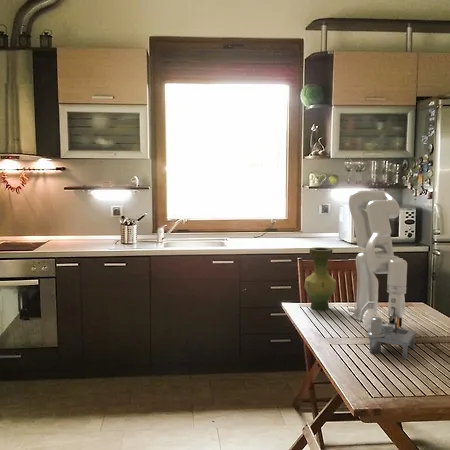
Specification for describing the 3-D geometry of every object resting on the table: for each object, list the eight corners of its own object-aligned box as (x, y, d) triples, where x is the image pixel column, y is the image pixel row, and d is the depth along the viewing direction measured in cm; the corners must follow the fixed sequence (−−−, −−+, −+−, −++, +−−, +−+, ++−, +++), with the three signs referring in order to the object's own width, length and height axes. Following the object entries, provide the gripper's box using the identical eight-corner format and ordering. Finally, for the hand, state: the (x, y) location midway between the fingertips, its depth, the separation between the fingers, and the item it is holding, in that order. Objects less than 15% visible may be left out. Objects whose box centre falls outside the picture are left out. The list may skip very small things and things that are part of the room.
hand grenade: (360, 333, 212) (361, 303, 210) (357, 328, 218) (358, 299, 216) (379, 334, 211) (380, 304, 209) (375, 329, 217) (377, 300, 216)
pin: (388, 336, 208) (389, 313, 207) (390, 333, 212) (391, 310, 210) (398, 338, 206) (399, 314, 205) (400, 335, 209) (401, 312, 208)
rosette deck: (357, 351, 191) (358, 318, 189) (369, 338, 205) (370, 308, 203) (406, 360, 181) (407, 326, 180) (415, 347, 195) (416, 314, 194)
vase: (310, 302, 262) (311, 245, 259) (340, 306, 254) (341, 248, 250) (298, 309, 248) (299, 250, 244) (329, 314, 240) (331, 252, 236)
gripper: (401, 294, 197) (399, 336, 199) (410, 286, 212) (408, 325, 214) (382, 291, 201) (380, 333, 203) (392, 283, 216) (390, 322, 217)
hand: (395, 329), depth 208 cm, fingers open, 9 cm apart
